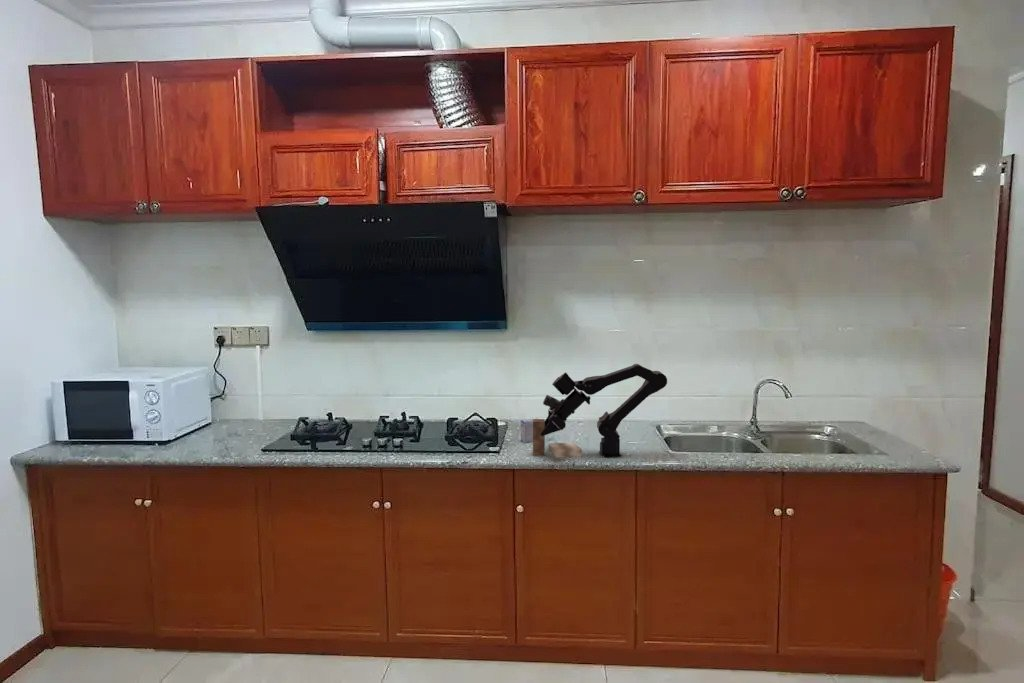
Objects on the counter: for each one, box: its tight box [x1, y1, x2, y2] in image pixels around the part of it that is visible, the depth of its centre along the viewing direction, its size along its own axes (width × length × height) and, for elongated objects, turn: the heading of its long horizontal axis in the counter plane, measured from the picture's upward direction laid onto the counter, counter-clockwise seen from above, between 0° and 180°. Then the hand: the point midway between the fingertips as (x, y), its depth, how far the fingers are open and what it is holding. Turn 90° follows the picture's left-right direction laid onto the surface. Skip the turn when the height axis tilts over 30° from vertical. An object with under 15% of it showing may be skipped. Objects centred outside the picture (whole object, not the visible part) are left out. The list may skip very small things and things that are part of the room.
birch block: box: [548, 441, 582, 459], centre depth 228 cm, size 10×10×3 cm
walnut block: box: [532, 418, 546, 457], centre depth 227 cm, size 4×4×13 cm
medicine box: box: [520, 417, 539, 443], centre depth 246 cm, size 8×4×9 cm, turn 111°
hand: (541, 432), depth 226 cm, fingers open, 9 cm apart
